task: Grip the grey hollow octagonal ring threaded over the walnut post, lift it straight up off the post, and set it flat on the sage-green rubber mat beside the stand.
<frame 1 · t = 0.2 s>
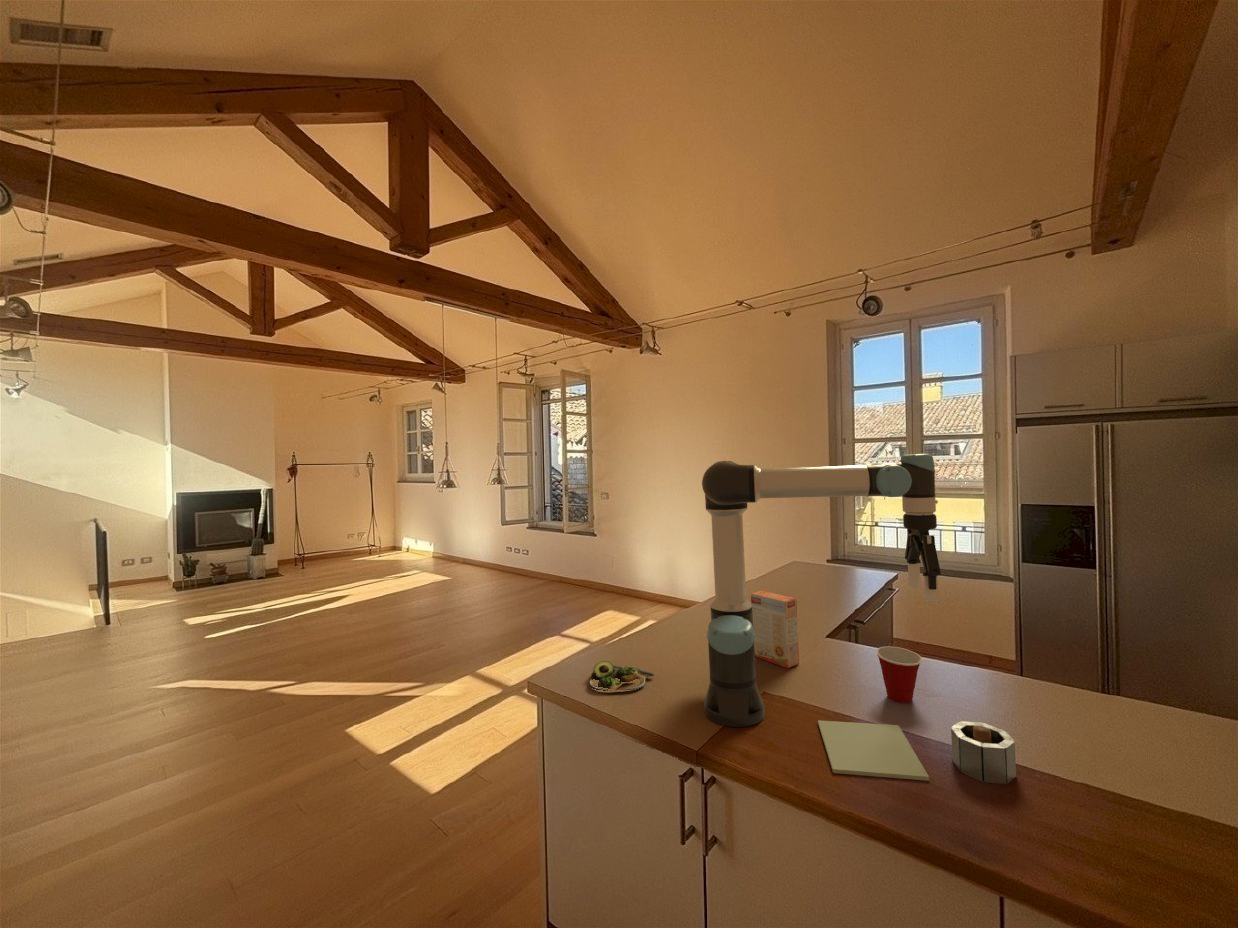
hand: (922, 594, 136), 28 cm above the counter, tool pointing down, fingers open, 13 cm apart
sage mat: (868, 749, 115), on the counter
plastic cup: (900, 699, 138), on the counter
grey hollow octagonal ring: (983, 767, 107), on the counter
walnut post: (983, 767, 107), on the counter
cracker box: (775, 660, 167), on the counter
salad plate: (616, 682, 157), on the counter
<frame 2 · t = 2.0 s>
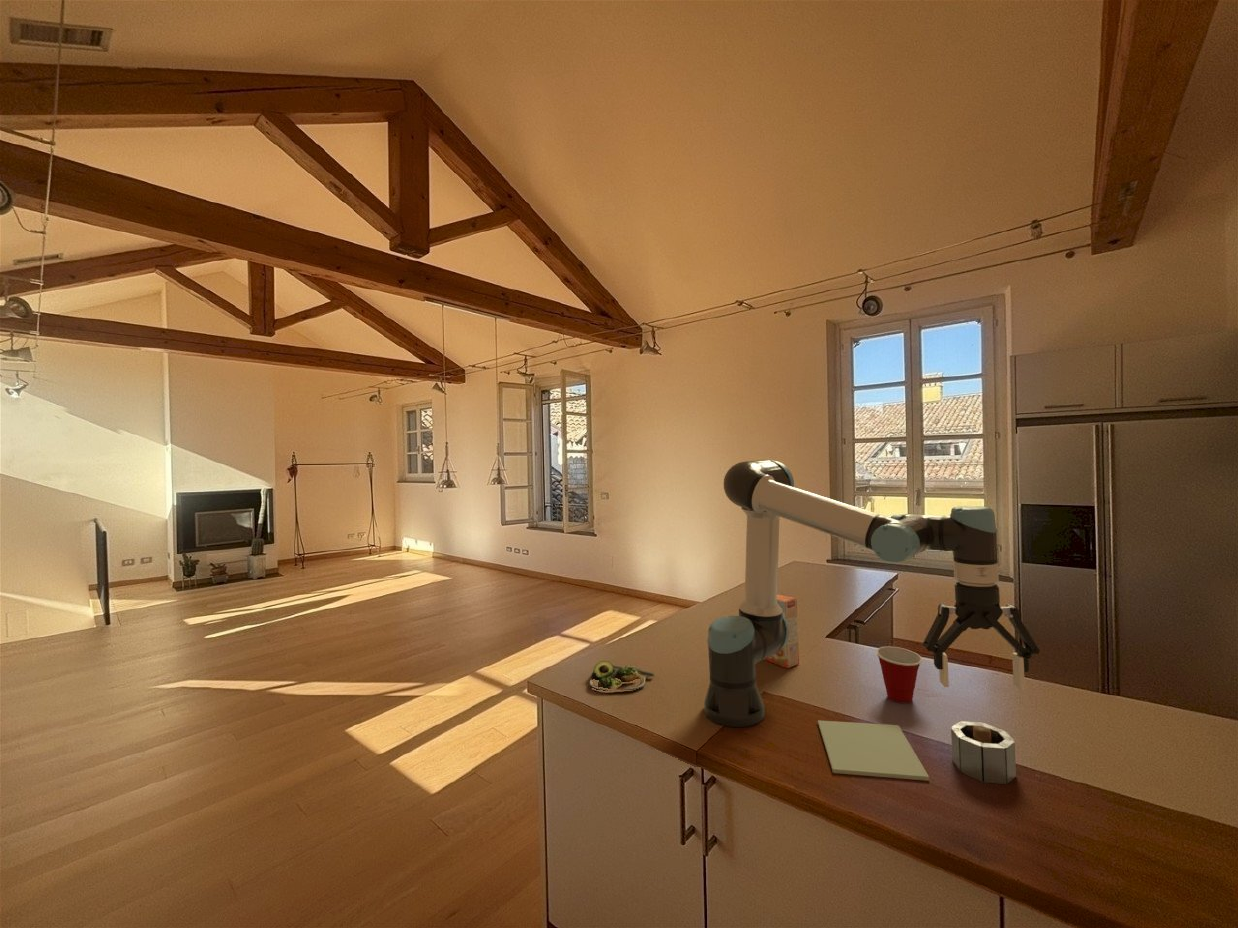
hand: (981, 685, 106), 17 cm above the counter, tool pointing down, fingers open, 13 cm apart
nothing on the counter moved.
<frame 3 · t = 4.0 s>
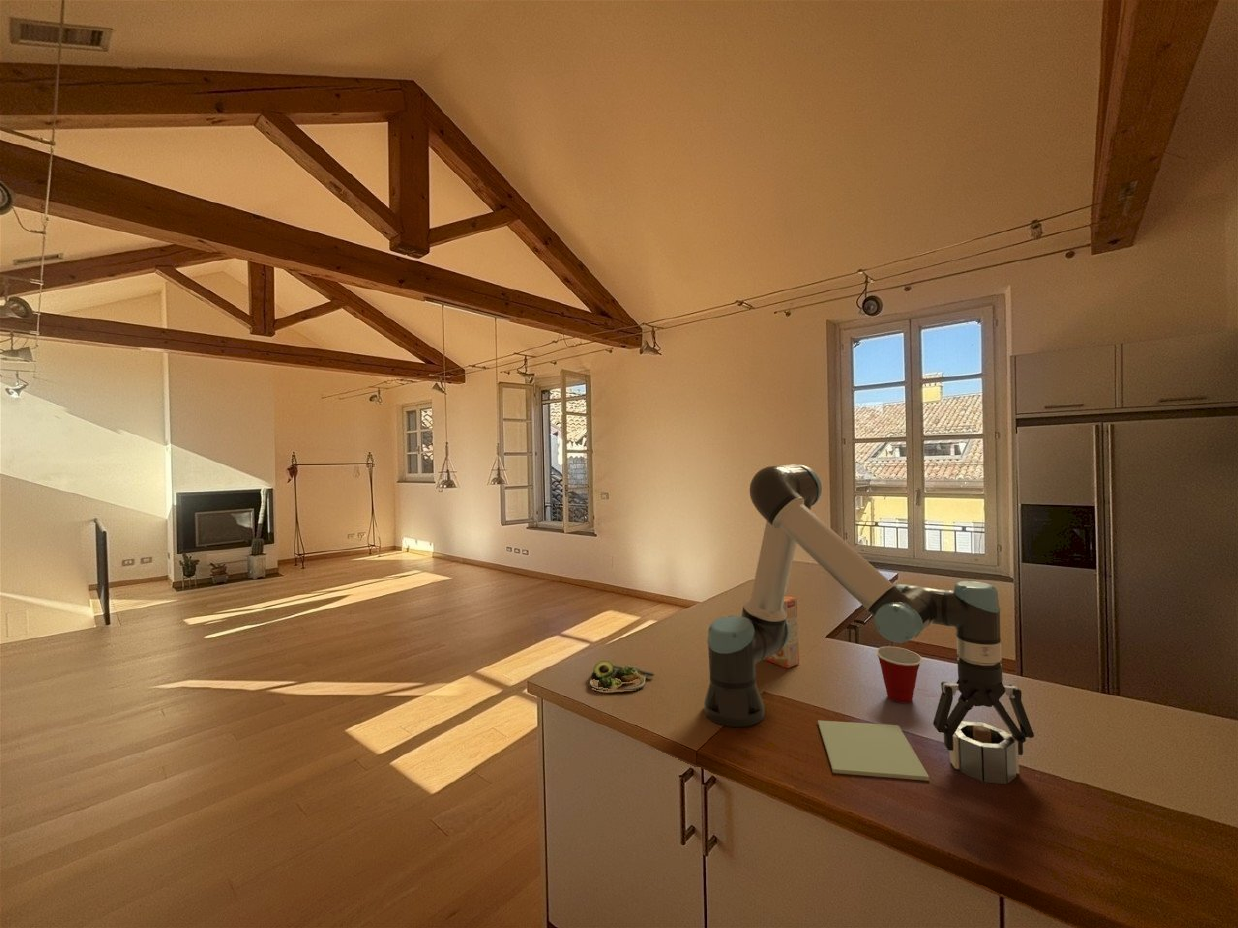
hand: (983, 767, 107), 0 cm above the counter, tool pointing down, fingers closed on grey hollow octagonal ring, 10 cm apart
grey hollow octagonal ring: (983, 767, 107), on the counter, touching gripper
everything else where it was.
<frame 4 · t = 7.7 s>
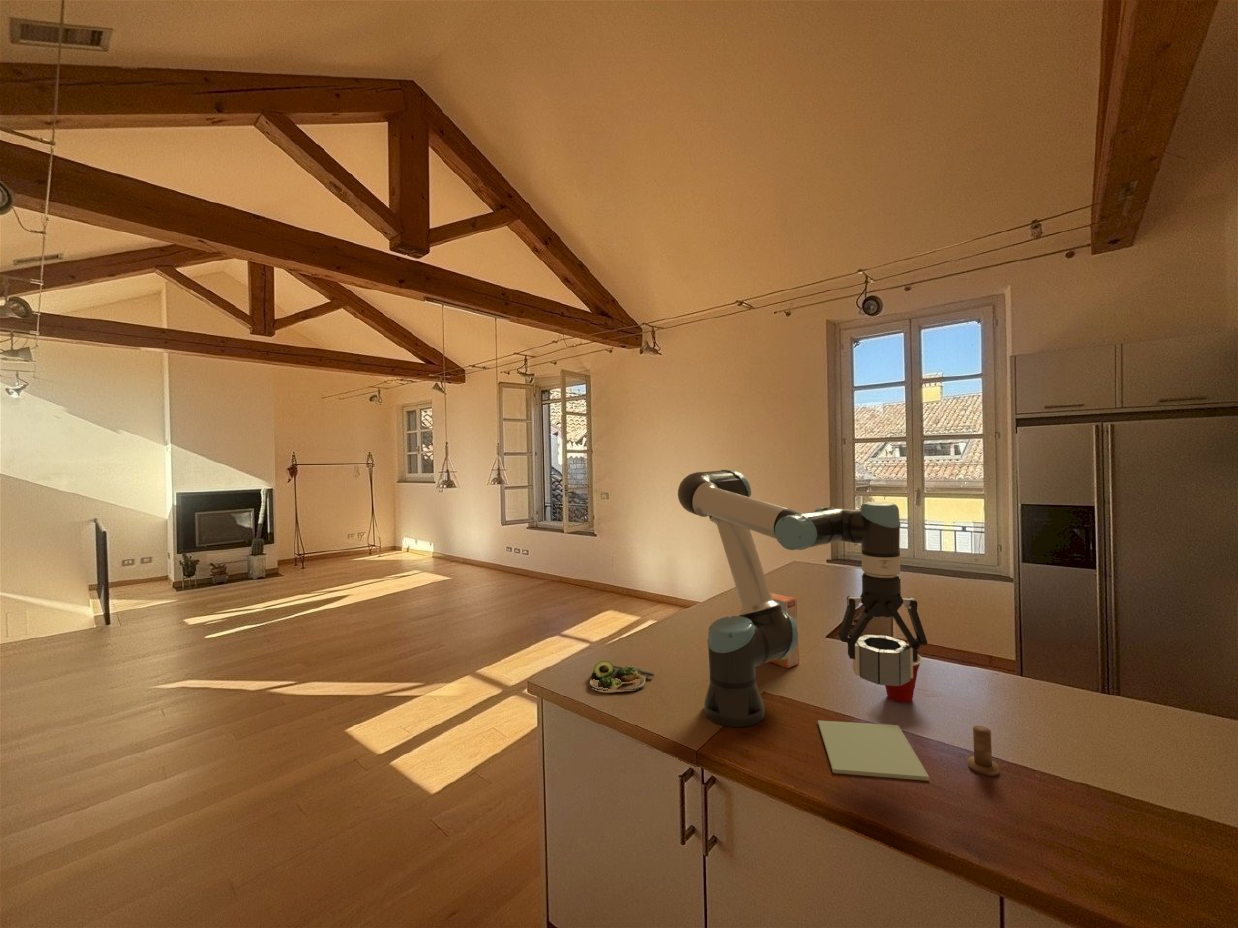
hand: (882, 674, 114), 17 cm above the counter, tool pointing down, fingers closed on grey hollow octagonal ring, 10 cm apart
grey hollow octagonal ring: (882, 674, 114), point 17 cm above the counter, touching gripper
everything else where it was.
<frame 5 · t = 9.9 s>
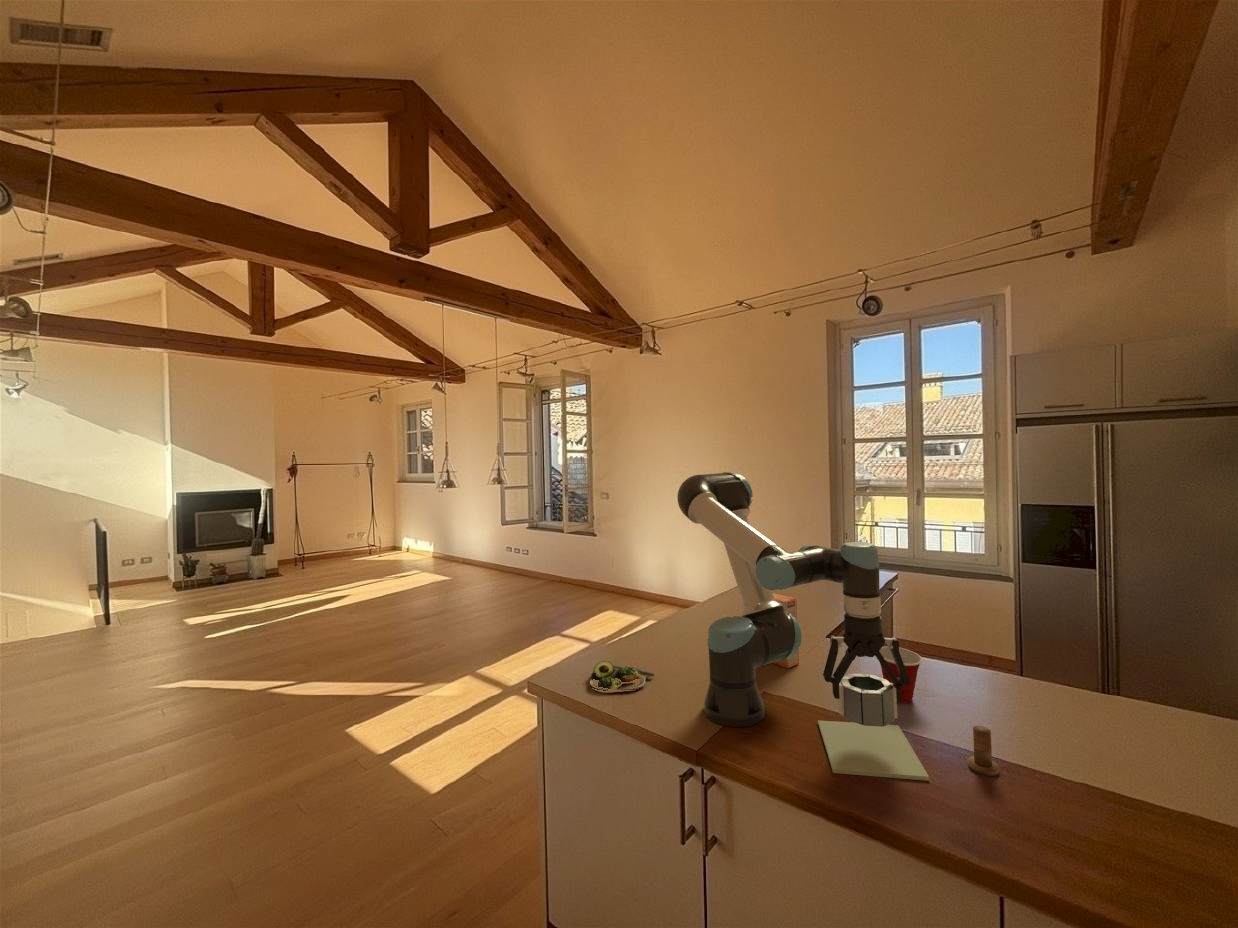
hand: (867, 713, 115), 8 cm above the counter, tool pointing down, fingers closed on grey hollow octagonal ring, 10 cm apart
grey hollow octagonal ring: (867, 714, 115), point 8 cm above the counter, touching gripper
everything else where it was.
when the fingers open (2 cm above the counter, at t = 11.6 s): grey hollow octagonal ring drops 1 cm, resting on sage mat.
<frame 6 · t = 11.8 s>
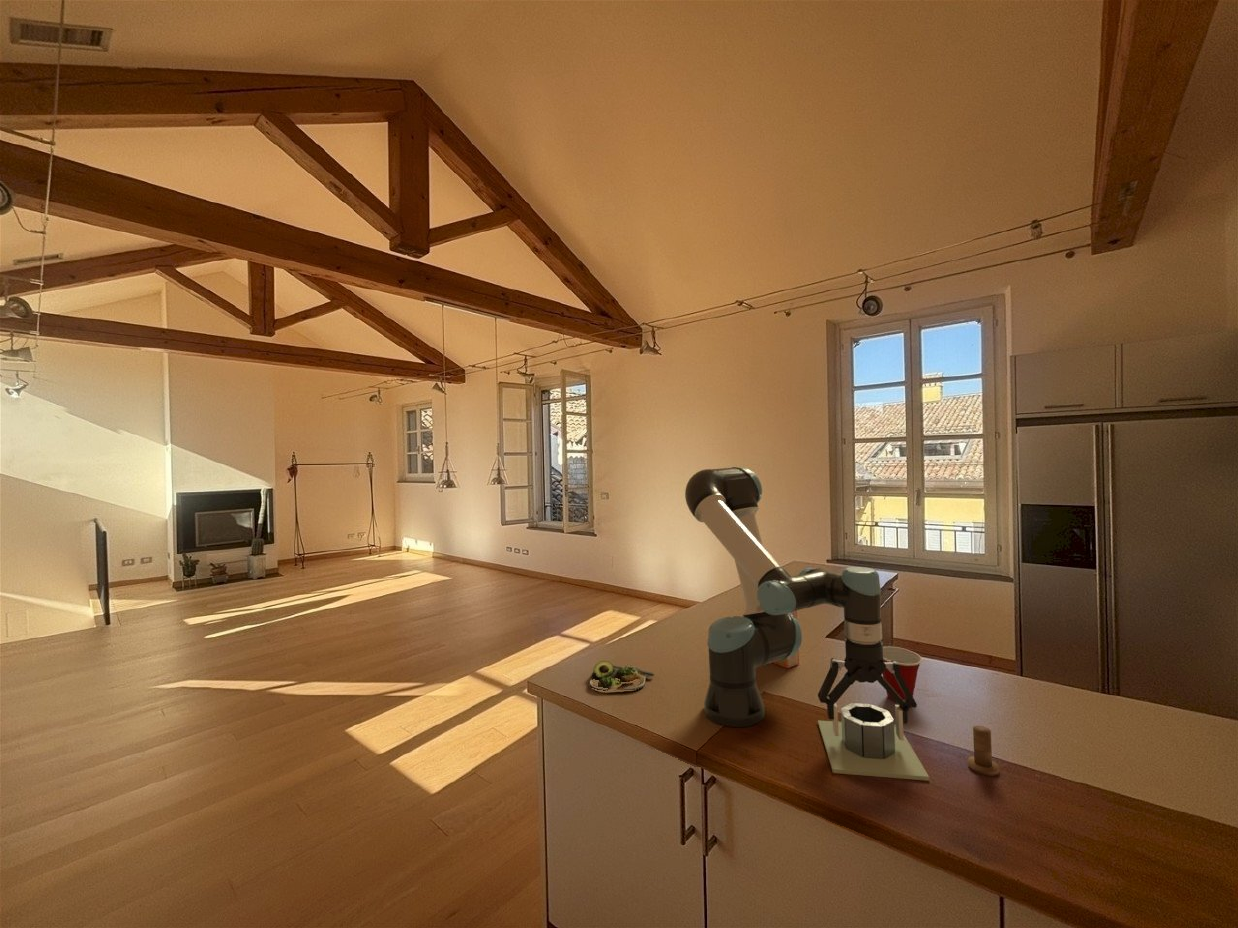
hand: (867, 735, 115), 3 cm above the counter, tool pointing down, fingers open, 12 cm apart
grey hollow octagonal ring: (868, 745, 115), point 1 cm above the counter, touching sage mat
everything else where it was.
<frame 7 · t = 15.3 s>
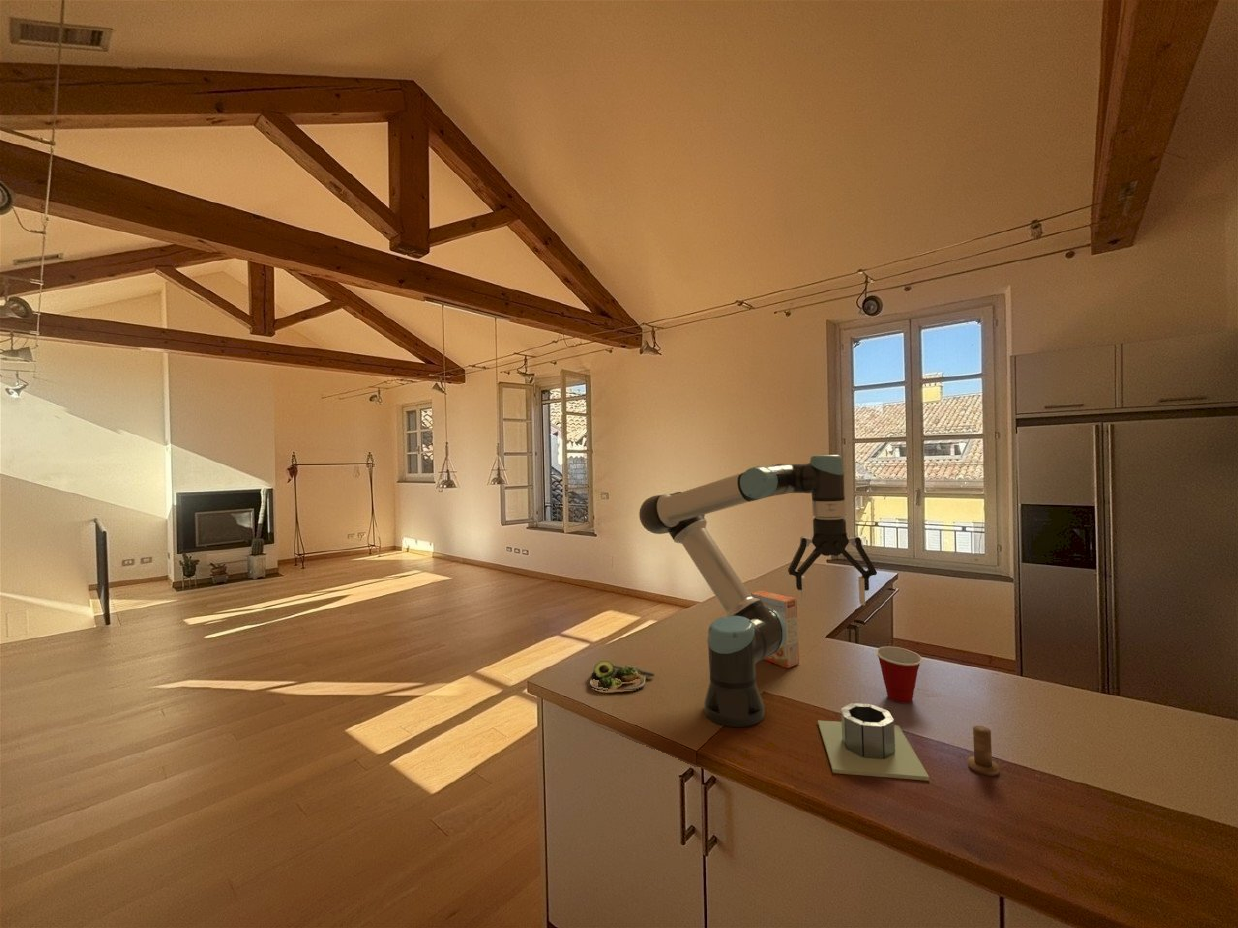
hand: (832, 603, 128), 29 cm above the counter, tool pointing down, fingers open, 13 cm apart
nothing on the counter moved.
at the end: grey hollow octagonal ring inside the target area on the sage mat (0.1 cm from its centre), point 0.8 cm above the sage mat's base; grey hollow octagonal ring tilted 0°; the gripper is holding nothing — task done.
